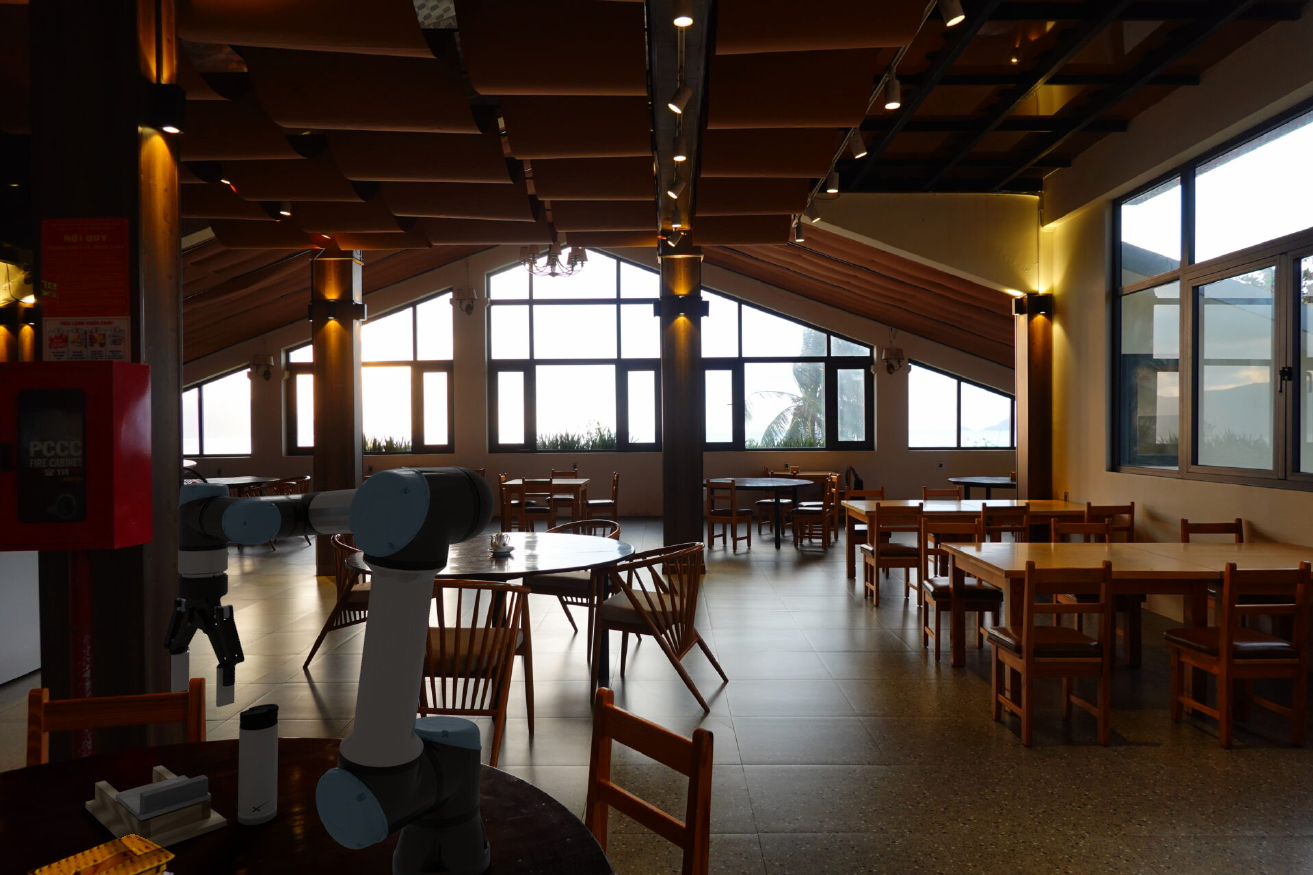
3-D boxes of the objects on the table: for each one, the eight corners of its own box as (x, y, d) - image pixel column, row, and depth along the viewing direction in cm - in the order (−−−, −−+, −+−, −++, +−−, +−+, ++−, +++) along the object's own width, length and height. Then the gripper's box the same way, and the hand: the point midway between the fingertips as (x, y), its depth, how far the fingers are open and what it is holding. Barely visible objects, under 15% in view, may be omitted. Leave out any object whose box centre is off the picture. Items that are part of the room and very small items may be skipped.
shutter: (210, 798, 144) (211, 776, 144) (140, 820, 136) (140, 797, 136) (183, 779, 152) (184, 758, 152) (115, 798, 144) (116, 777, 143)
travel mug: (262, 827, 143) (264, 713, 143) (229, 823, 144) (231, 709, 144) (286, 811, 149) (287, 701, 149) (254, 807, 150) (255, 698, 150)
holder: (226, 825, 143) (227, 802, 143) (136, 856, 133) (136, 831, 133) (169, 783, 160) (170, 762, 160) (85, 807, 149) (85, 785, 149)
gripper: (268, 577, 137) (266, 704, 137) (185, 564, 150) (183, 680, 150) (224, 584, 131) (223, 717, 131) (141, 569, 143) (140, 690, 143)
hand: (202, 697), depth 140 cm, fingers open, 13 cm apart
